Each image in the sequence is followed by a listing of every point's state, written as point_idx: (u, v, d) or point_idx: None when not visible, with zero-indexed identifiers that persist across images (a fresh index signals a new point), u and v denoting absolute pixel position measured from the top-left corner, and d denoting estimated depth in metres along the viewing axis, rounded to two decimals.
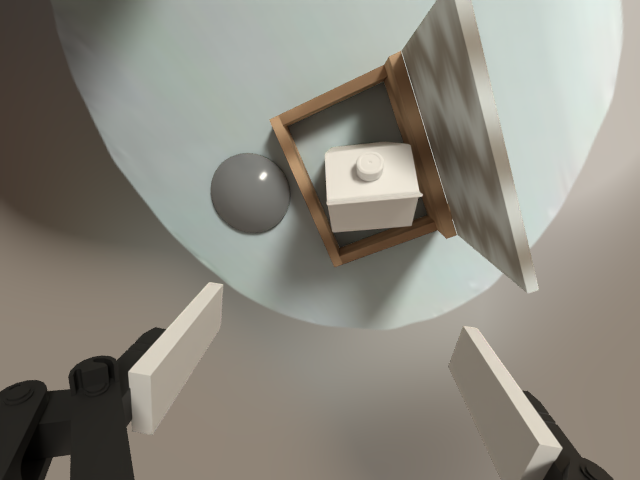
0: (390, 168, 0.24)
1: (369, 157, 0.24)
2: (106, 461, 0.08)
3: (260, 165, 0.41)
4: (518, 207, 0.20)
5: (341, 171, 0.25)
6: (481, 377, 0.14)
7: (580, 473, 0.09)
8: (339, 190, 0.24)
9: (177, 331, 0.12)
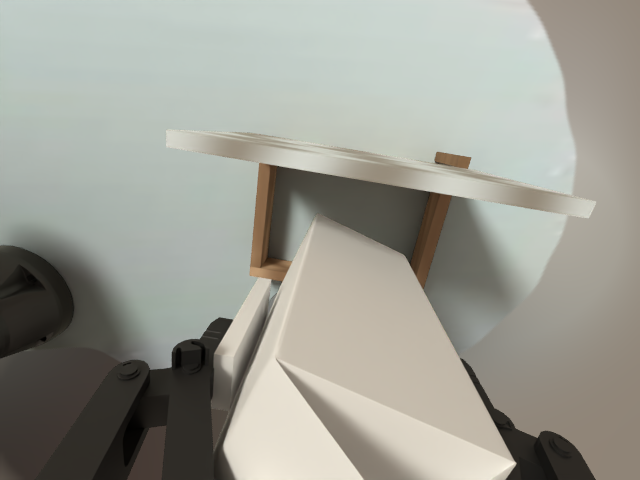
0: None
1: None
2: (193, 434, 0.09)
3: None
4: (454, 179, 0.14)
5: None
6: None
7: None
8: None
9: (244, 320, 0.13)
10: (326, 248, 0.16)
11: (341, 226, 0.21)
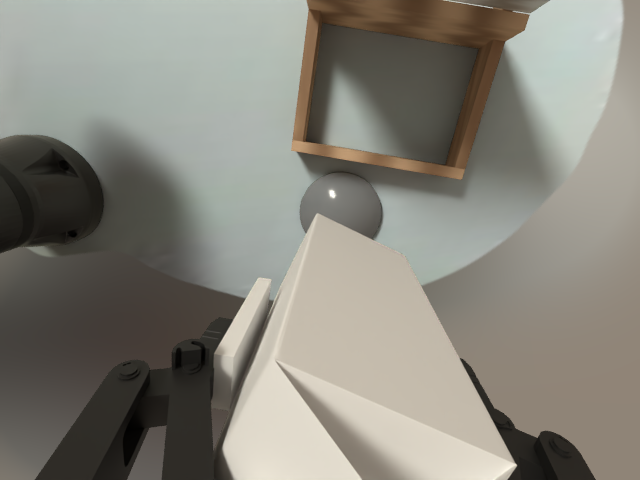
0: None
1: None
2: (193, 434, 0.09)
3: (322, 187, 0.40)
4: None
5: None
6: None
7: None
8: None
9: (244, 320, 0.13)
10: (326, 248, 0.16)
11: (341, 226, 0.21)
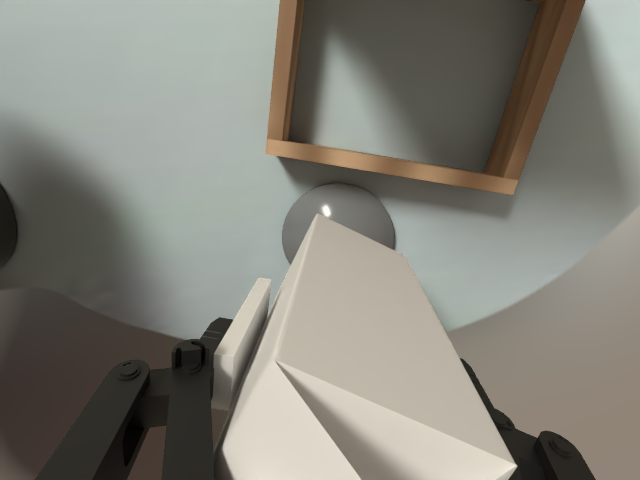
0: None
1: None
2: (193, 434, 0.09)
3: (313, 203, 0.29)
4: None
5: None
6: None
7: None
8: None
9: (244, 320, 0.13)
10: (326, 248, 0.16)
11: (341, 226, 0.21)
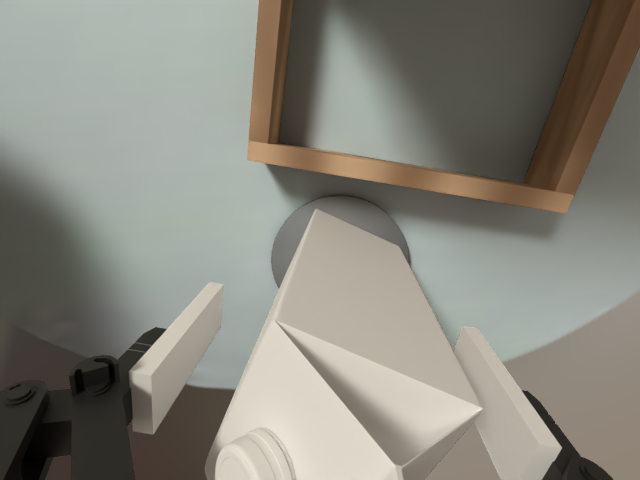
0: (292, 427, 0.08)
1: (227, 475, 0.08)
2: (107, 461, 0.08)
3: None
4: None
5: None
6: (481, 377, 0.14)
7: (579, 473, 0.09)
8: None
9: (178, 331, 0.12)
10: (323, 238, 0.17)
11: (338, 220, 0.22)
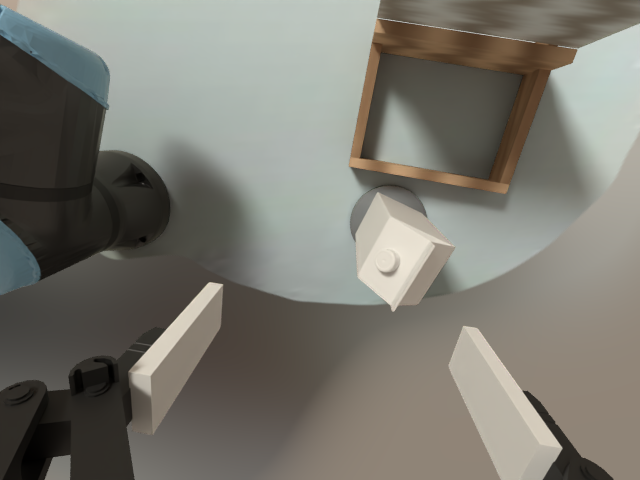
0: (398, 245, 0.28)
1: (380, 257, 0.28)
2: (106, 461, 0.08)
3: None
4: None
5: (376, 278, 0.30)
6: (481, 377, 0.14)
7: (580, 473, 0.09)
8: (389, 291, 0.29)
9: (177, 331, 0.12)
10: (389, 203, 0.37)
11: (390, 198, 0.42)
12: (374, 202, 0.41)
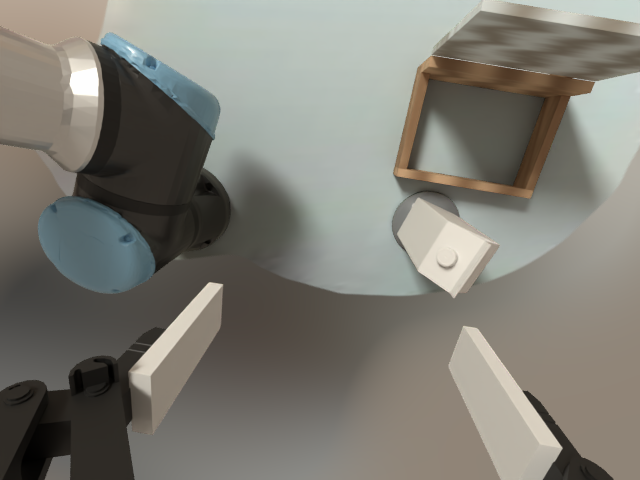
0: (456, 244, 0.35)
1: (442, 254, 0.35)
2: (106, 461, 0.08)
3: (413, 203, 0.50)
4: None
5: (436, 271, 0.36)
6: (481, 377, 0.14)
7: (580, 473, 0.09)
8: (448, 281, 0.35)
9: (177, 331, 0.12)
10: (434, 207, 0.44)
11: None
12: (417, 206, 0.48)
